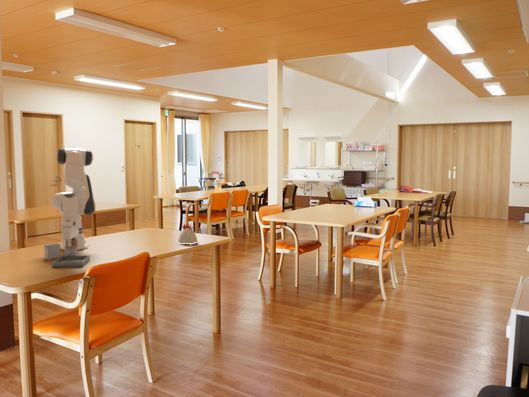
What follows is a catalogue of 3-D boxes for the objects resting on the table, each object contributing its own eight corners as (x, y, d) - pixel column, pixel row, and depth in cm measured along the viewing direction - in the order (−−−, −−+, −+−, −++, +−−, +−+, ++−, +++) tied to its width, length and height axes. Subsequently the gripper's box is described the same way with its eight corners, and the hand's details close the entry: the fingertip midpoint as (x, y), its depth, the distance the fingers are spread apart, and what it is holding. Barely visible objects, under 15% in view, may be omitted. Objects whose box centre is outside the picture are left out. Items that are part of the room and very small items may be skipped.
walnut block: (68, 247, 269) (68, 238, 269) (77, 247, 270) (77, 238, 270) (65, 248, 265) (65, 240, 264) (74, 248, 265) (74, 240, 265)
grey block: (66, 258, 284) (66, 245, 283) (78, 258, 284) (78, 245, 284) (63, 260, 277) (62, 247, 276) (75, 260, 278) (75, 247, 277)
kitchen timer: (180, 241, 345) (180, 222, 344) (198, 242, 345) (198, 222, 344) (176, 245, 331) (176, 224, 330) (195, 245, 331) (195, 224, 330)
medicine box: (57, 256, 287) (56, 243, 287) (60, 257, 285) (60, 244, 284) (44, 258, 281) (44, 244, 281) (47, 259, 278) (47, 245, 278)
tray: (62, 260, 276) (62, 255, 276) (89, 260, 278) (89, 255, 278) (52, 267, 258) (52, 262, 258) (81, 267, 260) (81, 262, 260)
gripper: (70, 219, 276) (71, 242, 277) (59, 224, 256) (60, 248, 257) (81, 219, 277) (81, 241, 278) (71, 223, 257) (72, 248, 258)
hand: (71, 245), depth 267 cm, fingers closed on walnut block, 5 cm apart
